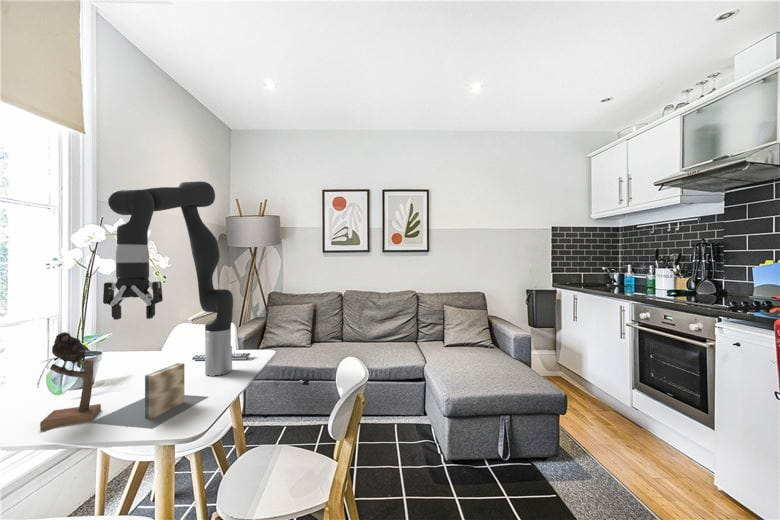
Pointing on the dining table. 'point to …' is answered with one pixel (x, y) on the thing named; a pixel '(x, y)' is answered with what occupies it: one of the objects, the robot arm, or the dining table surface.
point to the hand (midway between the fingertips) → (133, 318)
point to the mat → (136, 414)
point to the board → (164, 390)
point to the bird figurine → (72, 352)
